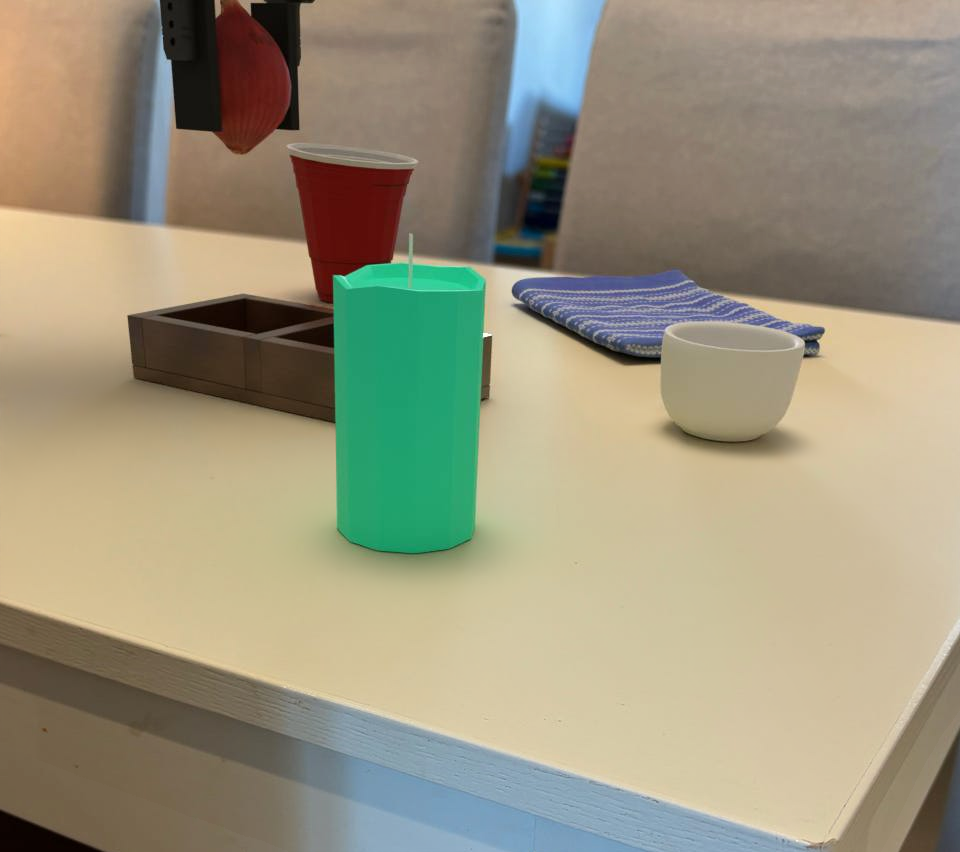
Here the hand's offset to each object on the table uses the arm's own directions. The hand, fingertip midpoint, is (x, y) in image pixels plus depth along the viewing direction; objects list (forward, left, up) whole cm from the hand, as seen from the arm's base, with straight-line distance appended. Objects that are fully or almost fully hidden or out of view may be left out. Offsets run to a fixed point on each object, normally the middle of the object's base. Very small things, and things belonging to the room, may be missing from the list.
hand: (239, 128), depth 63 cm
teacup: (+27, +8, -14) cm, 32 cm away
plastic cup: (-12, +26, -14) cm, 32 cm away
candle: (+22, -16, -14) cm, 31 cm away
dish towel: (+13, +33, -14) cm, 39 cm away
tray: (+4, 0, -14) cm, 15 cm away
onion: (0, 0, -2) cm, 2 cm away
